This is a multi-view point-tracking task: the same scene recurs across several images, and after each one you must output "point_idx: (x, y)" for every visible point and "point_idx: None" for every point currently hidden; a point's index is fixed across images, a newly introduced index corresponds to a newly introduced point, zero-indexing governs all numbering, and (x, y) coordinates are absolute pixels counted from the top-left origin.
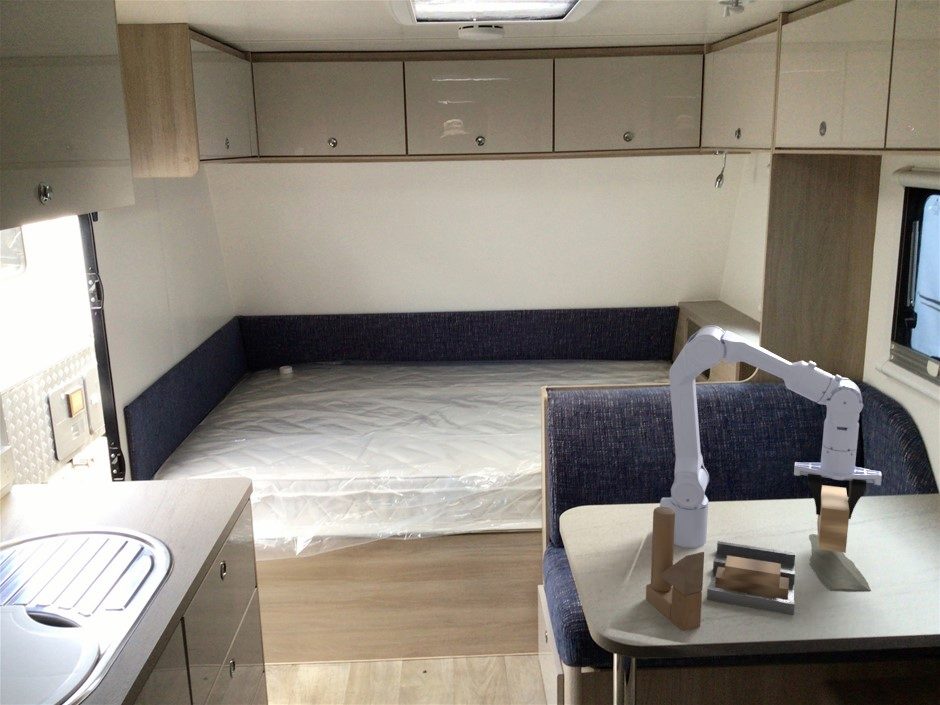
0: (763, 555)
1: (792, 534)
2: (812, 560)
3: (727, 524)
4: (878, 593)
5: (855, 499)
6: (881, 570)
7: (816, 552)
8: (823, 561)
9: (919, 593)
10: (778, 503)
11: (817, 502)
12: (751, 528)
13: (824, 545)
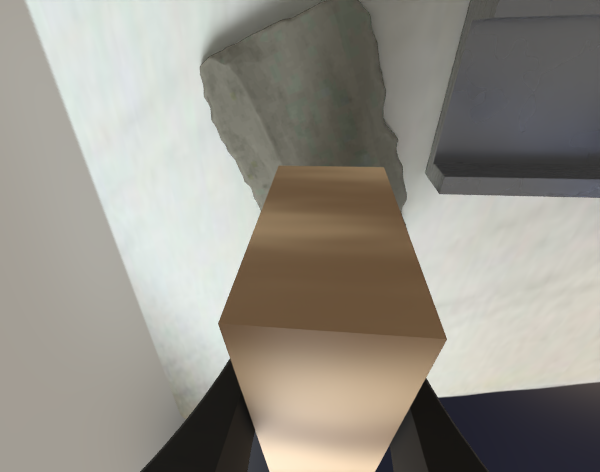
0: (546, 170)
1: None
2: None
3: (538, 326)
4: (192, 81)
5: (191, 438)
6: (207, 217)
7: None
8: None
9: (101, 126)
10: None
11: (425, 397)
12: (482, 321)
13: (363, 175)
